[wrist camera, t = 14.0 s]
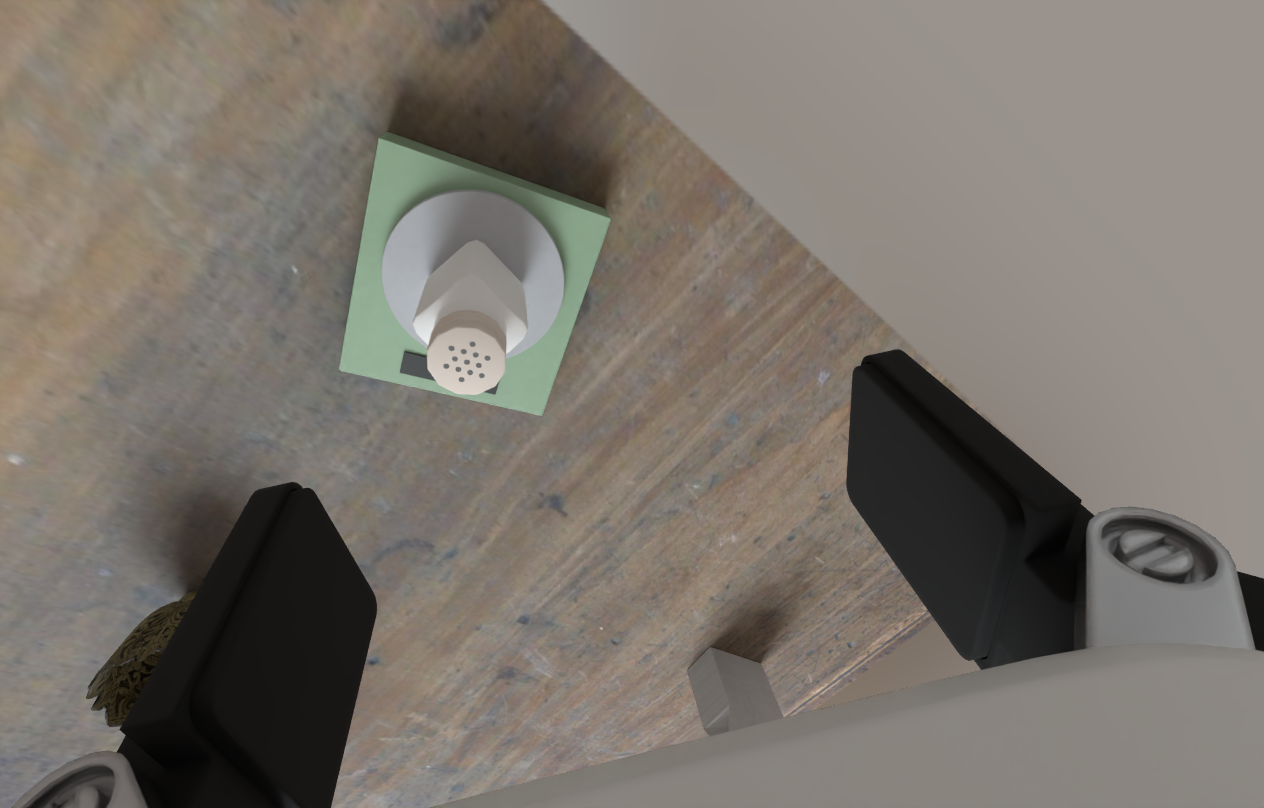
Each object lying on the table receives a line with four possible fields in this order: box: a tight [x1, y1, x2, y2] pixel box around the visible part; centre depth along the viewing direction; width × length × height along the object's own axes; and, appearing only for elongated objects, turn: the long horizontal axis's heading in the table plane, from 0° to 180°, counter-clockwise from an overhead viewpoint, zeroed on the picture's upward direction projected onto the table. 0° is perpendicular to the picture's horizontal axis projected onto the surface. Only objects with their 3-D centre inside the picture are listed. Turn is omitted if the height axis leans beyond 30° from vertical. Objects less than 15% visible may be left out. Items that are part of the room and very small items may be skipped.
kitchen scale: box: [339, 132, 611, 416], centre depth 34 cm, size 13×12×3 cm
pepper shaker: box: [412, 240, 528, 395], centre depth 29 cm, size 4×4×10 cm
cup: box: [86, 588, 199, 727], centre depth 40 cm, size 8×7×8 cm
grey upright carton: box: [687, 647, 784, 736], centre depth 55 cm, size 4×7×10 cm, turn 55°
